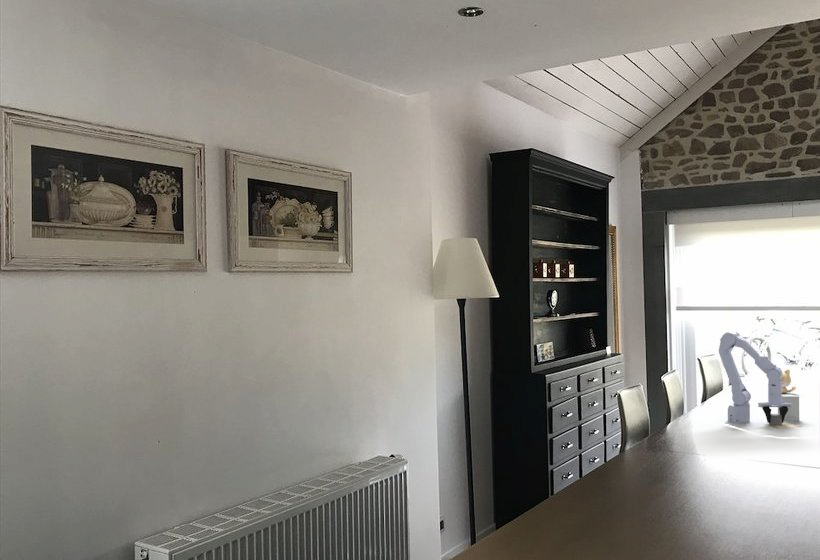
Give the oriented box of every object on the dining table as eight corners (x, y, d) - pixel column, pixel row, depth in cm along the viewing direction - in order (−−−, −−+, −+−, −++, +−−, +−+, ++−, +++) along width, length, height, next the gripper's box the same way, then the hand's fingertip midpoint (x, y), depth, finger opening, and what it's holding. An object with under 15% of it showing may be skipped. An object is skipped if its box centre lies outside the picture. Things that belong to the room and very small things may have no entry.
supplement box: (799, 422, 366) (799, 396, 366) (784, 422, 366) (784, 396, 366) (792, 419, 374) (792, 394, 374) (777, 419, 374) (777, 394, 374)
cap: (767, 424, 357) (767, 414, 357) (772, 422, 360) (772, 413, 360) (778, 425, 353) (778, 416, 353) (783, 424, 356) (783, 414, 356)
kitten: (764, 392, 466) (764, 367, 466) (778, 391, 469) (777, 366, 469) (783, 395, 452) (783, 370, 452) (797, 394, 455) (796, 369, 455)
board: (776, 430, 348) (776, 427, 348) (763, 426, 358) (763, 423, 358) (802, 429, 351) (802, 426, 351) (788, 424, 361) (788, 422, 361)
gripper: (762, 394, 353) (762, 424, 353) (794, 395, 352) (794, 424, 352) (756, 392, 360) (756, 421, 360) (788, 392, 359) (788, 421, 359)
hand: (775, 422), depth 357 cm, fingers closed on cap, 5 cm apart
